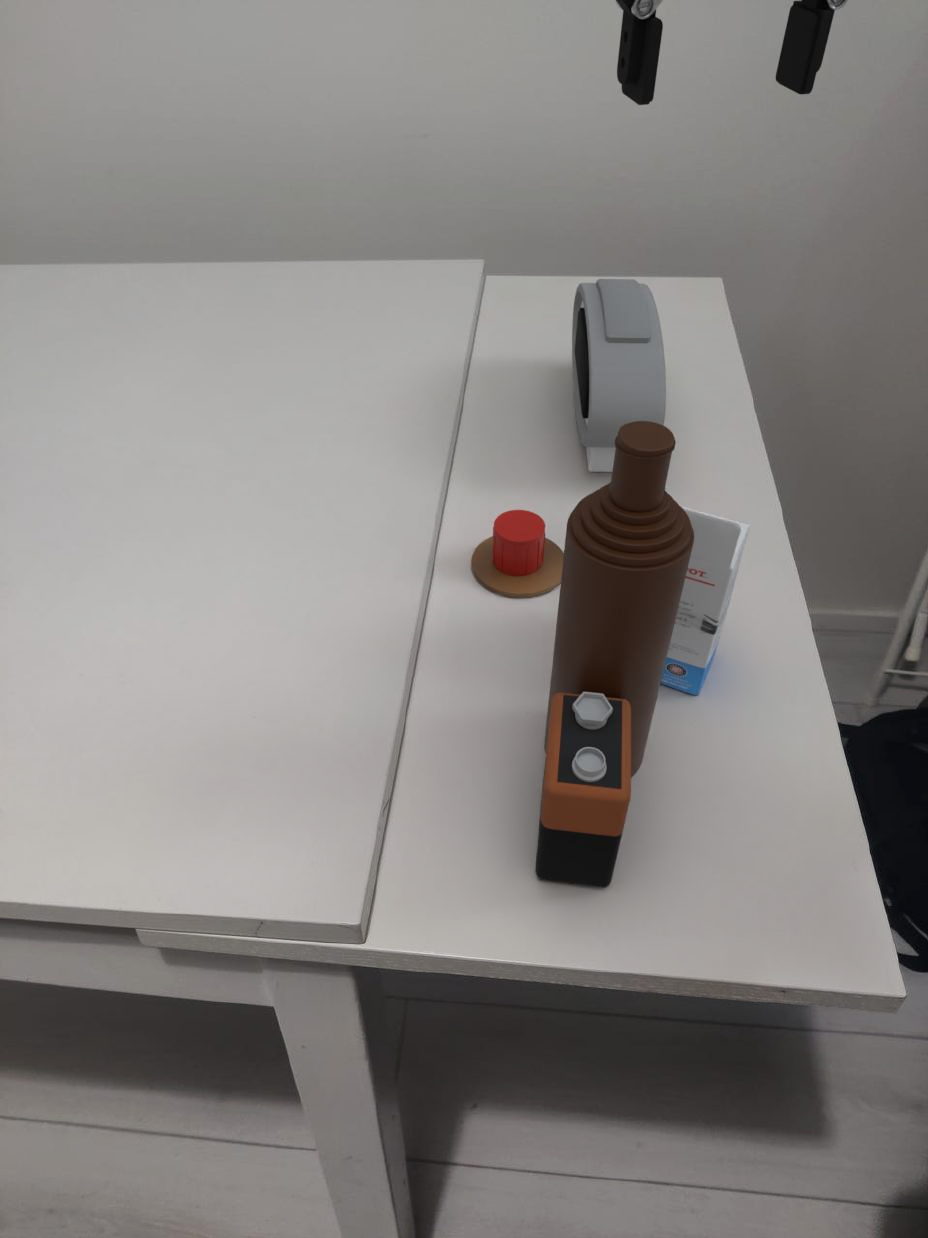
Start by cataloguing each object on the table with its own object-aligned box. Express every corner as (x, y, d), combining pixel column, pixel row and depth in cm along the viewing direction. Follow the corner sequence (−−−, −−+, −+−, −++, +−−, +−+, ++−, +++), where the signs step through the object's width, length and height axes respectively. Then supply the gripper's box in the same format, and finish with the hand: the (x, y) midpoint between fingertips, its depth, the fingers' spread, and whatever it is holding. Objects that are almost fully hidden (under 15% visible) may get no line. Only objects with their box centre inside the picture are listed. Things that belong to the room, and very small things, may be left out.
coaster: (586, 567, 70) (586, 562, 69) (519, 612, 66) (520, 607, 66) (517, 524, 74) (518, 519, 73) (451, 564, 70) (451, 559, 70)
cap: (539, 543, 71) (541, 508, 69) (545, 575, 68) (548, 540, 66) (490, 545, 71) (491, 510, 68) (494, 577, 68) (496, 542, 66)
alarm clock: (567, 364, 93) (578, 242, 85) (625, 365, 93) (642, 243, 84) (580, 492, 77) (596, 358, 68) (651, 494, 77) (676, 359, 68)
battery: (612, 792, 54) (634, 685, 47) (610, 892, 49) (634, 789, 42) (542, 784, 55) (553, 677, 48) (533, 882, 50) (544, 779, 43)
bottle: (663, 749, 57) (744, 436, 40) (599, 806, 54) (658, 493, 37) (588, 694, 60) (635, 385, 44) (523, 746, 57) (548, 433, 41)
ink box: (717, 651, 63) (766, 482, 53) (698, 698, 60) (746, 528, 50) (605, 614, 66) (631, 447, 56) (581, 658, 63) (604, 488, 52)
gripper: (639, -367, 34) (593, 121, 46) (1023, -356, 37) (887, 101, 49) (578, -348, 39) (551, 85, 51) (918, -340, 42) (818, 69, 54)
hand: (715, 93), depth 50 cm, fingers open, 9 cm apart
